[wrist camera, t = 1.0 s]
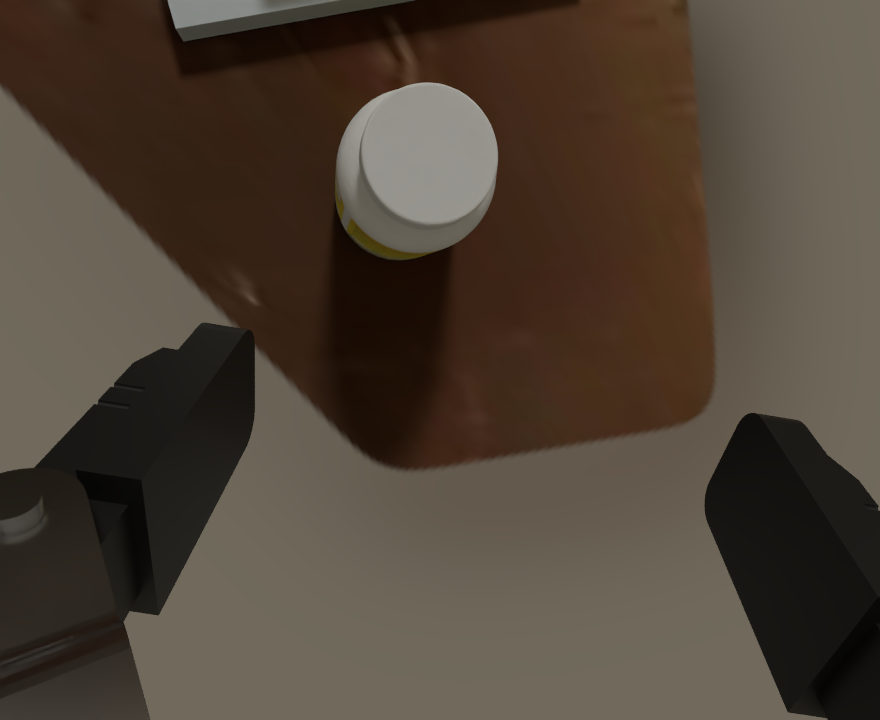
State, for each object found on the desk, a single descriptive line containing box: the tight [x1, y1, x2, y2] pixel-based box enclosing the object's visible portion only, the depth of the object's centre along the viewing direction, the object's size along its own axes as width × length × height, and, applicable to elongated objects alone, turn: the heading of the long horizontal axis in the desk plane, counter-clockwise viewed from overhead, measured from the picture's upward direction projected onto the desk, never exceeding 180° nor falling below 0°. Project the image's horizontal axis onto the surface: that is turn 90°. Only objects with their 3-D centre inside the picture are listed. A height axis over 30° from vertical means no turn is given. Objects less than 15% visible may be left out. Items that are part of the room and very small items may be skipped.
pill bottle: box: [335, 83, 498, 260], centre depth 26 cm, size 6×6×11 cm
